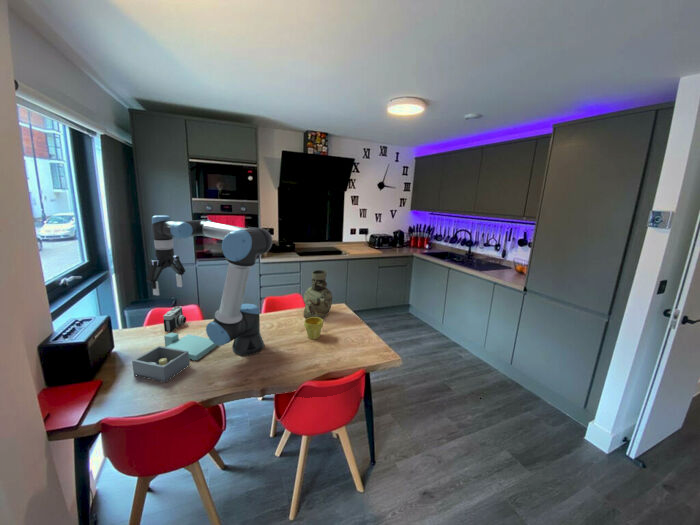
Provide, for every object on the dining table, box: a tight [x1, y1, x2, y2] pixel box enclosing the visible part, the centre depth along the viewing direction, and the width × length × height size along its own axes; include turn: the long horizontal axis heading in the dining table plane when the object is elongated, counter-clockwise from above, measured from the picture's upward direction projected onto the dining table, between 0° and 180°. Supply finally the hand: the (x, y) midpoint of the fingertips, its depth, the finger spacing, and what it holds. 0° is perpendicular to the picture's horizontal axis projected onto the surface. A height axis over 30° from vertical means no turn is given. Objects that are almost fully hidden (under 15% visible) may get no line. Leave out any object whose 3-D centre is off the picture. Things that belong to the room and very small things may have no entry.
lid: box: [164, 332, 219, 361], centre depth 142 cm, size 23×15×6 cm, turn 76°
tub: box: [131, 345, 191, 383], centre depth 124 cm, size 16×13×7 cm
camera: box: [162, 305, 187, 333], centre depth 166 cm, size 14×8×10 cm, turn 7°
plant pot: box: [303, 317, 324, 340], centre depth 160 cm, size 10×10×10 cm
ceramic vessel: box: [302, 269, 333, 320], centre depth 185 cm, size 19×21×30 cm
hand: (168, 290), depth 141 cm, fingers open, 13 cm apart
